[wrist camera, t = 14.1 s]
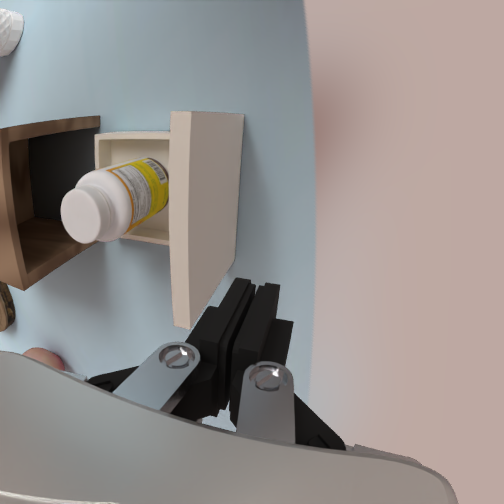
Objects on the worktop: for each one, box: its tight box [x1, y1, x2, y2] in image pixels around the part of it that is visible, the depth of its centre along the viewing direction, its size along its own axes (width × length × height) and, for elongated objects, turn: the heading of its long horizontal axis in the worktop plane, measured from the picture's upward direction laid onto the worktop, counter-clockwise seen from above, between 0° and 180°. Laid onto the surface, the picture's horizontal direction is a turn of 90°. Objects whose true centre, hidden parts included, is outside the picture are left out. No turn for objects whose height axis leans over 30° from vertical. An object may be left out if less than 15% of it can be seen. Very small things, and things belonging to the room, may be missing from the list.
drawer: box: [95, 111, 244, 329], centre depth 24 cm, size 14×14×11 cm
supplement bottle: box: [61, 157, 169, 244], centre depth 24 cm, size 6×6×10 cm
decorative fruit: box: [22, 348, 65, 371], centre depth 42 cm, size 9×8×10 cm
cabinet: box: [0, 116, 100, 291], centre depth 26 cm, size 14×14×13 cm
